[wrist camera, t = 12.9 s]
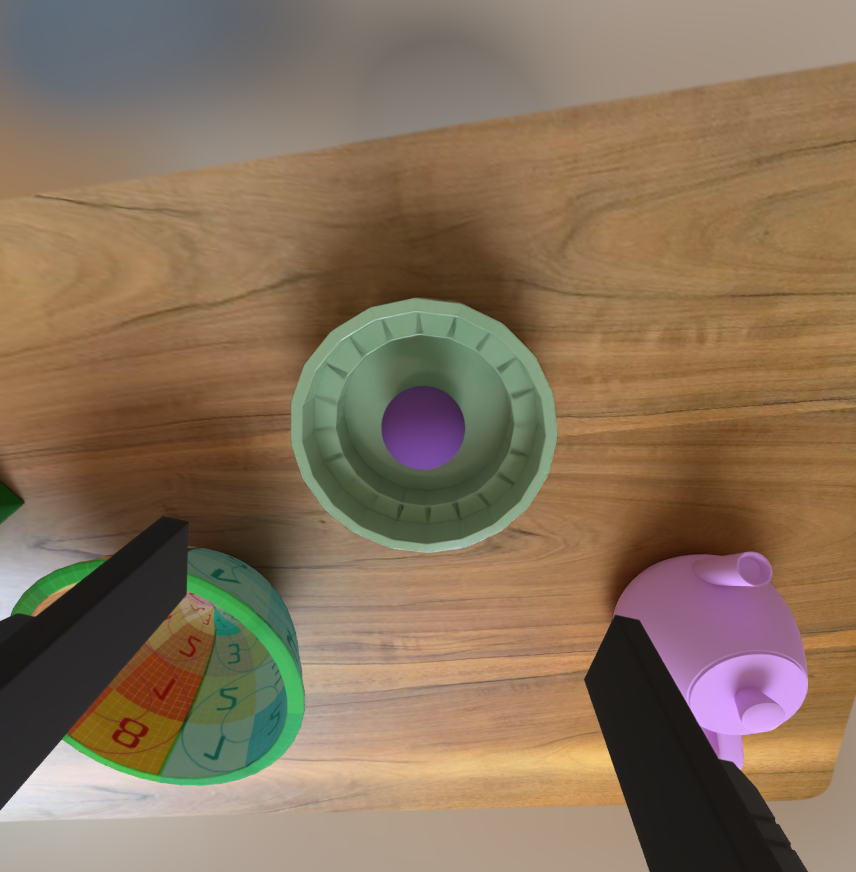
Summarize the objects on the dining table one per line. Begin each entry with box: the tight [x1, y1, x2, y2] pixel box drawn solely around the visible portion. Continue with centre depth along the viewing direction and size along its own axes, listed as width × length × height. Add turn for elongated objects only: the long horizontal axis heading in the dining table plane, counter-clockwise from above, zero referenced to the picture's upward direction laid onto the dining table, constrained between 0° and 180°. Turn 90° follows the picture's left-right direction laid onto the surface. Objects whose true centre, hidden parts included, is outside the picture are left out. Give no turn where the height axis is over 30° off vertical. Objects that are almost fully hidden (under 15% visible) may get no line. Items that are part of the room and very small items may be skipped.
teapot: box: [613, 552, 808, 770], centre depth 33 cm, size 14×20×11 cm
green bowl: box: [291, 297, 558, 553], centre depth 30 cm, size 18×18×6 cm
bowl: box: [11, 546, 305, 786], centre depth 35 cm, size 22×22×10 cm
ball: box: [381, 386, 465, 470], centre depth 30 cm, size 6×6×6 cm
